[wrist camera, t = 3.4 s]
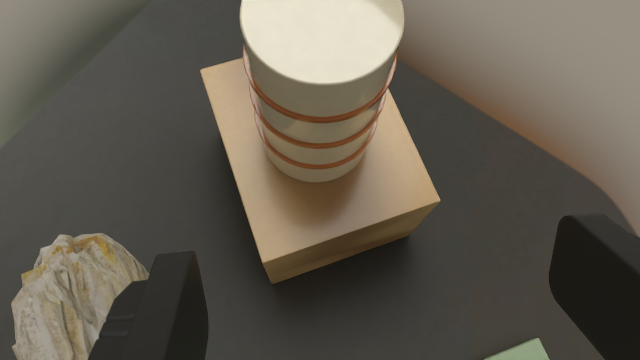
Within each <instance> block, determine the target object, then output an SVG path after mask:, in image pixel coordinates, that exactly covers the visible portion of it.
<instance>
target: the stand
mask: <svg viewBox="0 0 640 360" xmlns="http://www.w3.org/2000/svg"><path fill="white" fill-rule="evenodd" d="M200 72H201V75H202V78H203V82H204V85H205V88H206V91H207V94H208V97H209V100H210V103H211V106H212V109H213V112H214V116H215V119H216V122H217V125H218V128H219V131H220V134H221V137H222V140H223V143H224V146H225V150H226V153H227V156H228V159H229V162H230V165H231V168H232V171H233V174H234V177H235V180H236V184H237V187H238V190H239V193H240V196H241V199H242V202H243V205H244V208H245V211H246V214H247V218H248V221H249V224H250V227H251V230H252V233H253V236H254V239H255V242H256V245H257V248H258V252H259V255H260V258H261V261H262V264H263V266H264V268H265V270H266V273H267V275H268V277H269V280H270V282H271V284H275V283H278V282H281V281H283V280H286V279H289V278H292V277H295V276H297V275H300V274H303V273H306V272H308V271H311V270H314V269H317V268H320V267H322V266H325V265H328V264H331V263H334V262H336V261H339V260H342V259H345V258H347V257H350V256H353V255H356V254H359V253H361V252H364V251H367V250H370V249H372V248H375V247H378V246H381V245H384V244H386V243H389V242H392V241H395V240H398V239H400V238H403V237H406V236H409V235H410V234H411V233H412V231H413V230H414V229H415V228H416V227H417V226H418V225H419V224H420V223H421V222H422V221H423V219H424V218H425V217H426V216H427V215H428V214H429V213H430V212H431V211H432V210H433V208H434V207H435V206H436V205H437V204H438V203H439V202H440V199H439V196H438V194H437V192H436V190H435V188H434V186H433V183H432V181H431V179H430V177H429V175H428V173H427V171H426V168H425V166H424V164H423V162H422V160H421V158H420V156H419V153H418V151H417V149H416V147H415V145H414V143H413V141H412V138H411V136H410V134H409V132H408V130H407V128H406V125H405V123H404V121H403V119H402V117H401V115H400V113H399V110H398V108H397V106H396V104H395V102H394V100H393V98H392V95H391V93H390V91H389V89H387V91H386V98H385V103H384V106H383V109H382V111H381V114H380V115H379V117H378V123H377V127H376V130H375V133H374V135H373V138H372V139H371V141H370V143H369V144H368V146H367V149H366V151H365V154H364V155H363V157H362V159H361V160H360V162H359V163H358V164H357V165H356V166H355V167H354V168H353V169H352V170H351V171H349V172H348V173H347V174H345V175H343V176H341V177H339V178H337V179H334V180H330V181H326V182H305V181H301V180H297V179H295V178H292V177H290V176H288V175H286V174H285V173H283V172H282V171H280V170H279V169H278V168H277V167H276V166H275V165H274V164H273V163H272V162H271V160H270V159H269V157H268V156H267V154H266V152H265V149H264V147H263V143H262V139H261V137H260V135H259V133H258V130H257V126H256V123H255V115H254V108H253V105H252V102H251V98H250V91H249V80H248V78H247V75H246V71H245V68H244V62H243V58H240V59H236V60H233V61H229V62H226V63H222V64H219V65H215V66H211V67H208V68H204V69H201V70H200Z"/></svg>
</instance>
